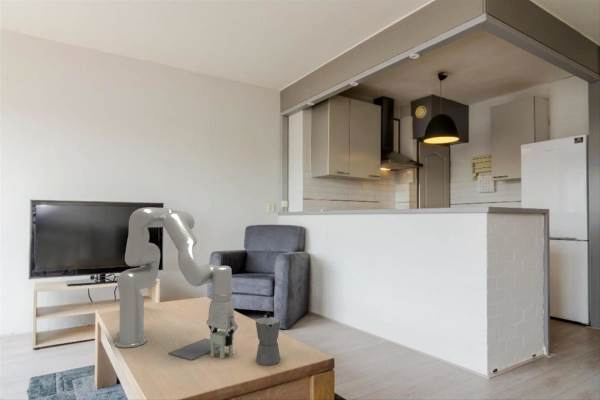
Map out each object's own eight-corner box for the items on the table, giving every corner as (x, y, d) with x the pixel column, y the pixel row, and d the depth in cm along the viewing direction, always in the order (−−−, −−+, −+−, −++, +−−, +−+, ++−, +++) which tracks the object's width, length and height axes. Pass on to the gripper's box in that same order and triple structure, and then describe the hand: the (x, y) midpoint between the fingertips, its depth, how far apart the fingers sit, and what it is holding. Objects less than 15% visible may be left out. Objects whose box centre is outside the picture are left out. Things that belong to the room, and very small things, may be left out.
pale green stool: (210, 356, 146) (210, 334, 146) (221, 351, 151) (221, 329, 152) (222, 359, 143) (222, 337, 143) (233, 353, 148) (233, 332, 148)
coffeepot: (283, 366, 135) (283, 316, 136) (257, 369, 133) (257, 318, 134) (276, 351, 150) (276, 306, 151) (253, 353, 148) (253, 307, 149)
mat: (168, 354, 148) (168, 352, 148) (205, 339, 165) (205, 338, 165) (191, 360, 142) (191, 359, 142) (227, 344, 159) (227, 343, 159)
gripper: (199, 297, 149) (198, 343, 148) (232, 302, 140) (232, 350, 140) (212, 293, 156) (212, 337, 155) (245, 298, 147) (245, 344, 146)
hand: (221, 343), depth 147 cm, fingers closed on pale green stool, 6 cm apart
